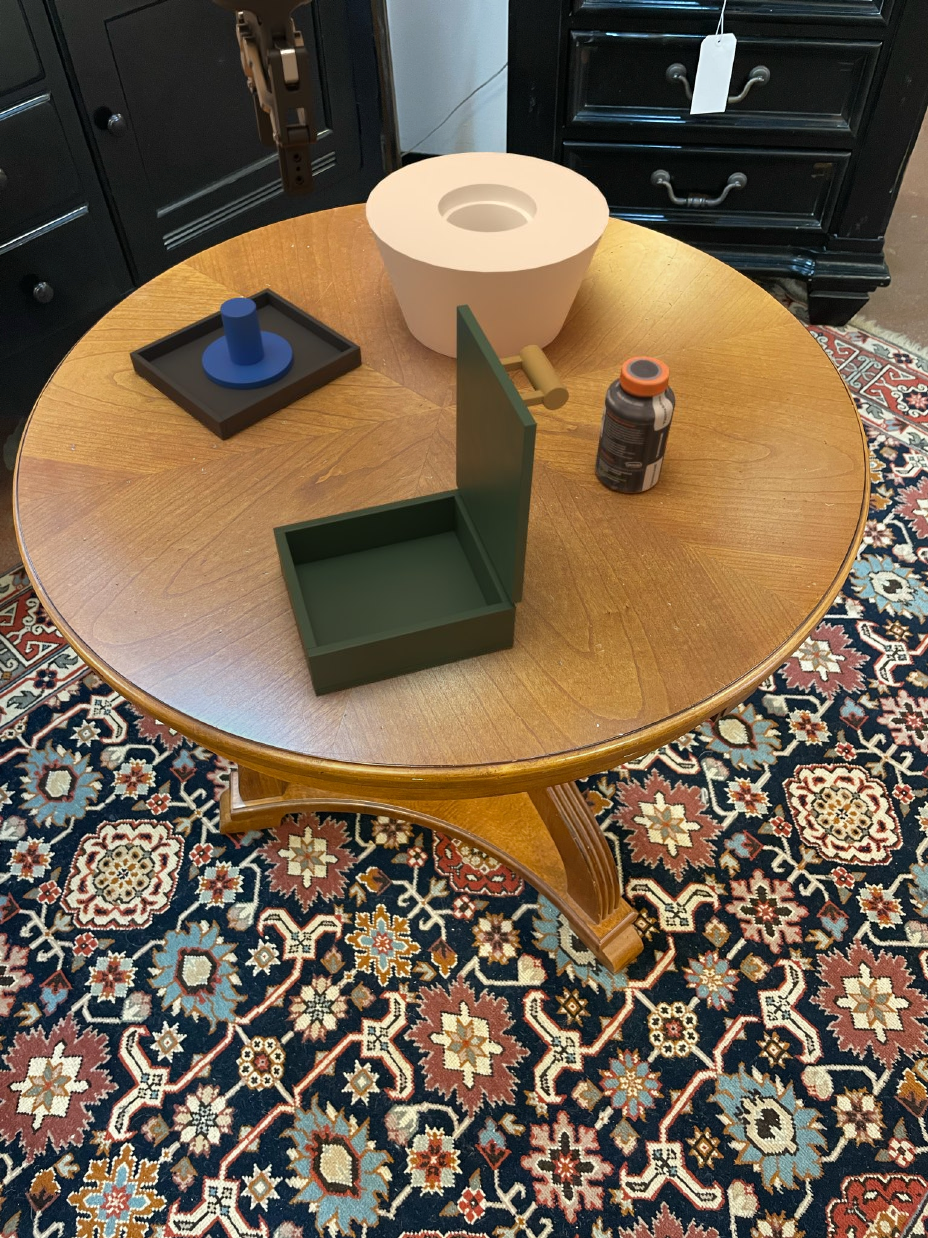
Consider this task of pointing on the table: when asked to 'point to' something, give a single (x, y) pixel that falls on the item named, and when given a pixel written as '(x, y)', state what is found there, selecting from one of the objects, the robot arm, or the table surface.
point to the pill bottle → (635, 426)
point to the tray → (232, 410)
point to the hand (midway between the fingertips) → (286, 167)
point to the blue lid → (246, 350)
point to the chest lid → (499, 442)
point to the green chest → (392, 590)
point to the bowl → (486, 245)
